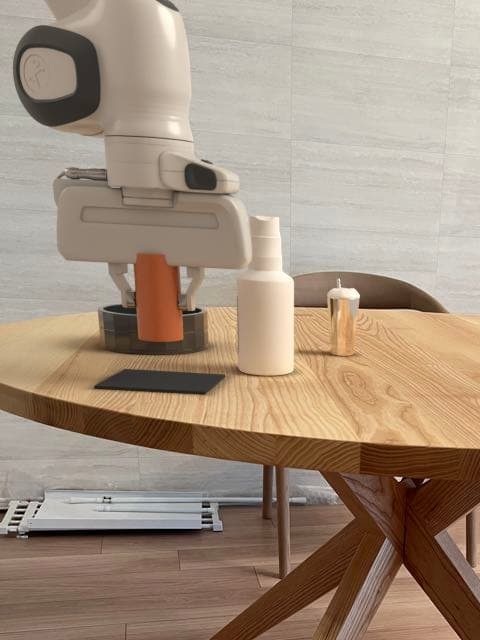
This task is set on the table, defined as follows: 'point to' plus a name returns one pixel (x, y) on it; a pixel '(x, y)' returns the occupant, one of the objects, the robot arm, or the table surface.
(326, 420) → the table surface
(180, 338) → the orange cylinder
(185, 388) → the mat
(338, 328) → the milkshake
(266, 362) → the spray bottle
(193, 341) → the pot
